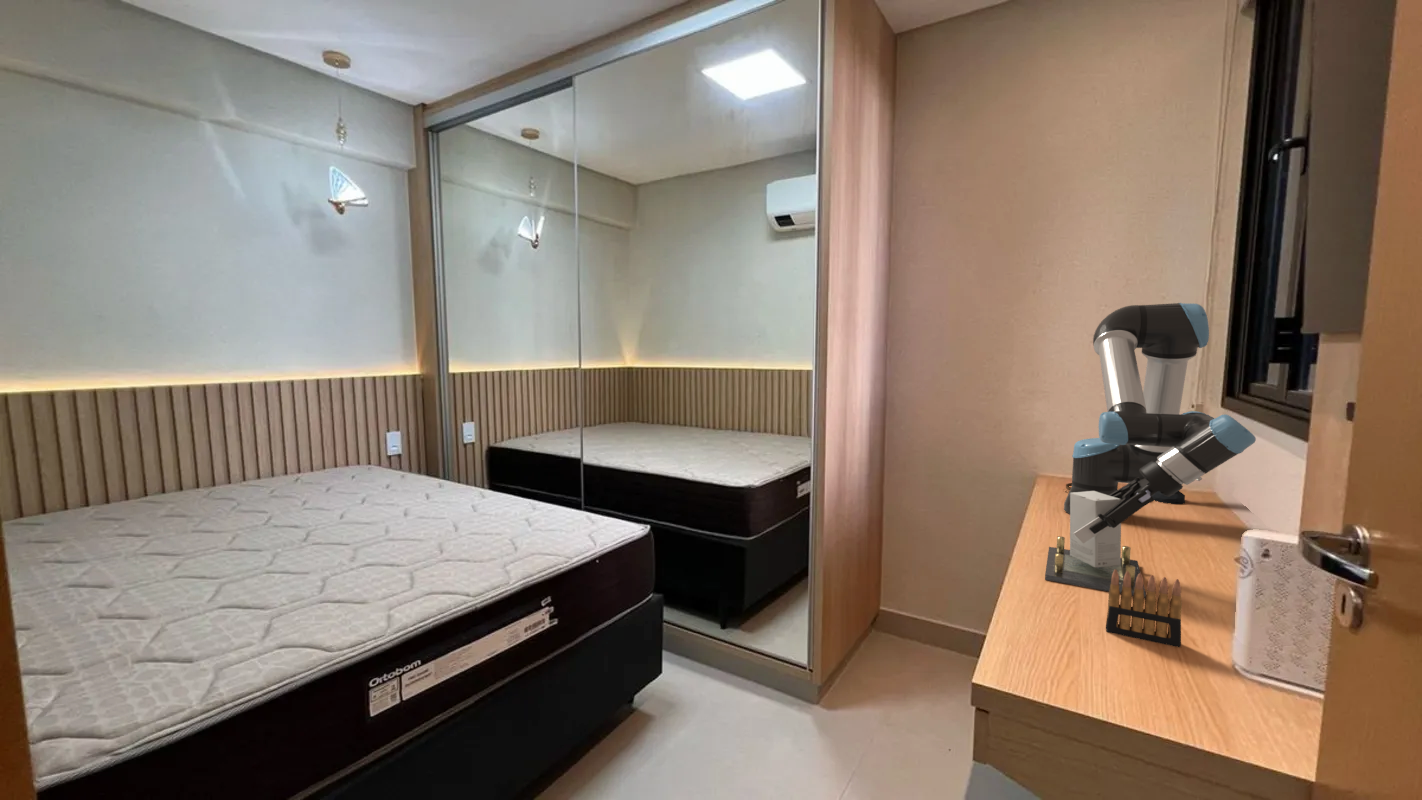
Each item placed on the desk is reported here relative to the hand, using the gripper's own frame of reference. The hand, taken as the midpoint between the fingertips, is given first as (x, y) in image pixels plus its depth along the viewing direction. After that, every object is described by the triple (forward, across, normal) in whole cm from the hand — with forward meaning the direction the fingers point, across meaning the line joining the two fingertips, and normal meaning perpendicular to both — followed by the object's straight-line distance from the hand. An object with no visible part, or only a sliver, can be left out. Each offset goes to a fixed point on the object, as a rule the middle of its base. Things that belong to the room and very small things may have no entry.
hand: (1078, 531), depth 129 cm
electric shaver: (-11, +81, -25) cm, 86 cm away
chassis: (+4, 0, -9) cm, 10 cm away
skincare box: (+3, 0, -7) cm, 7 cm away
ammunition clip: (0, -29, -14) cm, 32 cm away
